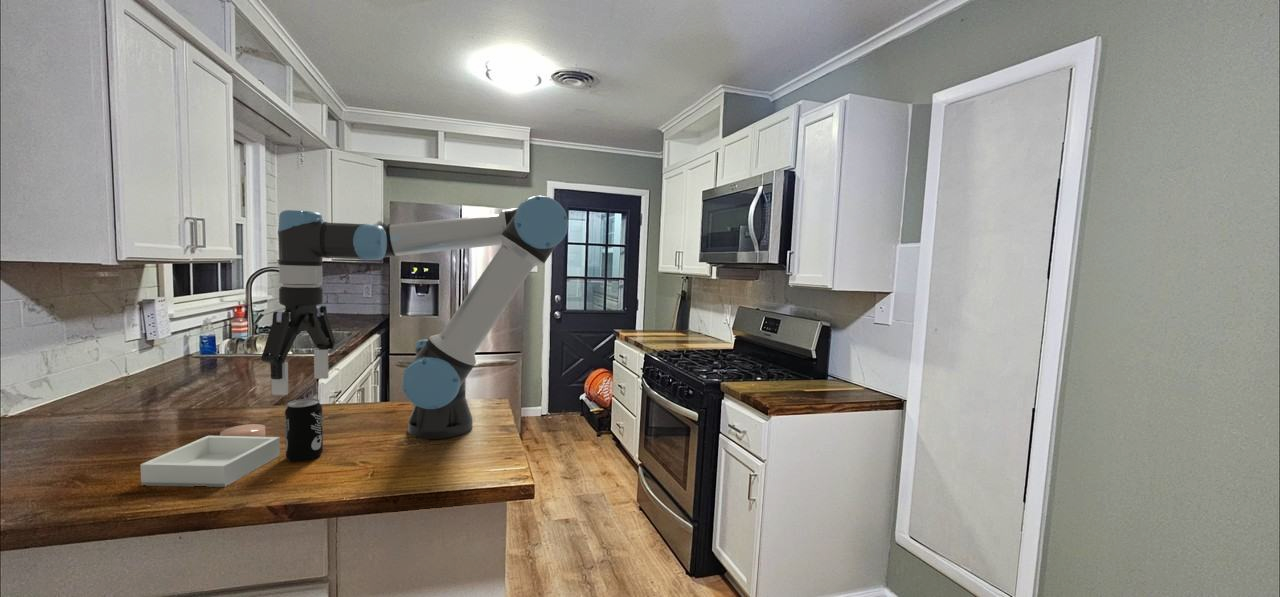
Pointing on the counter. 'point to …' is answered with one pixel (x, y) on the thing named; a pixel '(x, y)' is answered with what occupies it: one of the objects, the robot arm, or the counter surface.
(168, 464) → the white square tray
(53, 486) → the counter surface
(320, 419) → the beverage can
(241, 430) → the pink shiny round part
